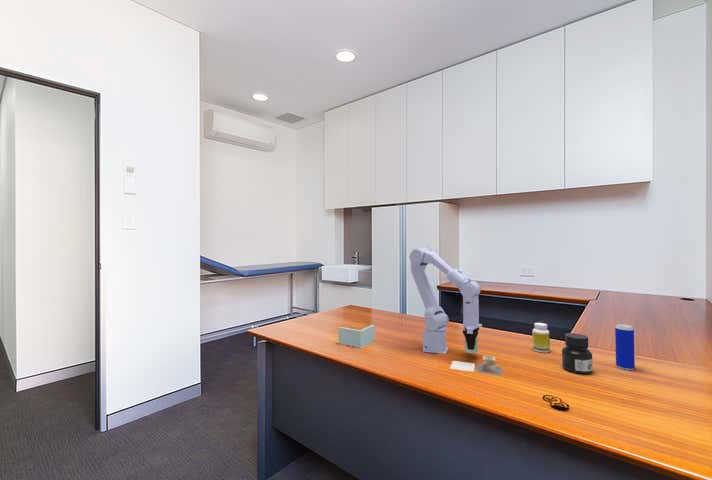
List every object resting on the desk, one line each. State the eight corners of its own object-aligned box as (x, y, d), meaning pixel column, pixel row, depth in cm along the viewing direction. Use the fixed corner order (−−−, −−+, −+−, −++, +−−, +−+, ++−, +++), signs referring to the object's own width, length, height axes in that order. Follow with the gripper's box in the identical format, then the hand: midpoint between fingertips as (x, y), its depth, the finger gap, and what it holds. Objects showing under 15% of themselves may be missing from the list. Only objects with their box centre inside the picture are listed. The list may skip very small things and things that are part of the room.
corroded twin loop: (556, 412, 87) (556, 408, 87) (538, 398, 95) (538, 394, 95) (574, 412, 87) (574, 408, 87) (554, 397, 95) (554, 394, 95)
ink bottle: (582, 377, 108) (582, 341, 108) (556, 368, 116) (555, 334, 116) (598, 371, 112) (597, 336, 112) (571, 363, 120) (571, 330, 120)
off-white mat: (450, 369, 116) (450, 368, 116) (452, 362, 123) (452, 360, 123) (473, 373, 113) (473, 371, 113) (475, 364, 120) (474, 363, 120)
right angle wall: (374, 341, 151) (374, 324, 151) (360, 348, 141) (360, 331, 141) (353, 337, 157) (353, 321, 157) (338, 343, 147) (338, 327, 147)
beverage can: (630, 365, 117) (629, 324, 117) (637, 371, 112) (636, 328, 112) (613, 364, 118) (612, 323, 118) (619, 369, 113) (618, 327, 113)
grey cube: (483, 370, 113) (482, 359, 113) (483, 366, 117) (483, 355, 117) (495, 372, 112) (495, 360, 112) (495, 368, 115) (495, 356, 115)
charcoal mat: (476, 373, 112) (476, 372, 112) (477, 365, 120) (477, 363, 120) (501, 377, 109) (501, 375, 109) (501, 368, 116) (501, 366, 116)
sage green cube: (465, 352, 125) (464, 340, 125) (465, 348, 129) (465, 337, 129) (477, 353, 123) (477, 342, 123) (477, 350, 127) (477, 338, 127)
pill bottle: (552, 353, 130) (551, 326, 130) (535, 352, 132) (535, 325, 132) (546, 348, 136) (546, 322, 136) (530, 347, 138) (530, 321, 138)
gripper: (481, 317, 118) (481, 354, 118) (482, 309, 131) (483, 342, 131) (460, 316, 121) (461, 352, 121) (464, 308, 134) (464, 341, 134)
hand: (471, 347), depth 126 cm, fingers closed on sage green cube, 4 cm apart
